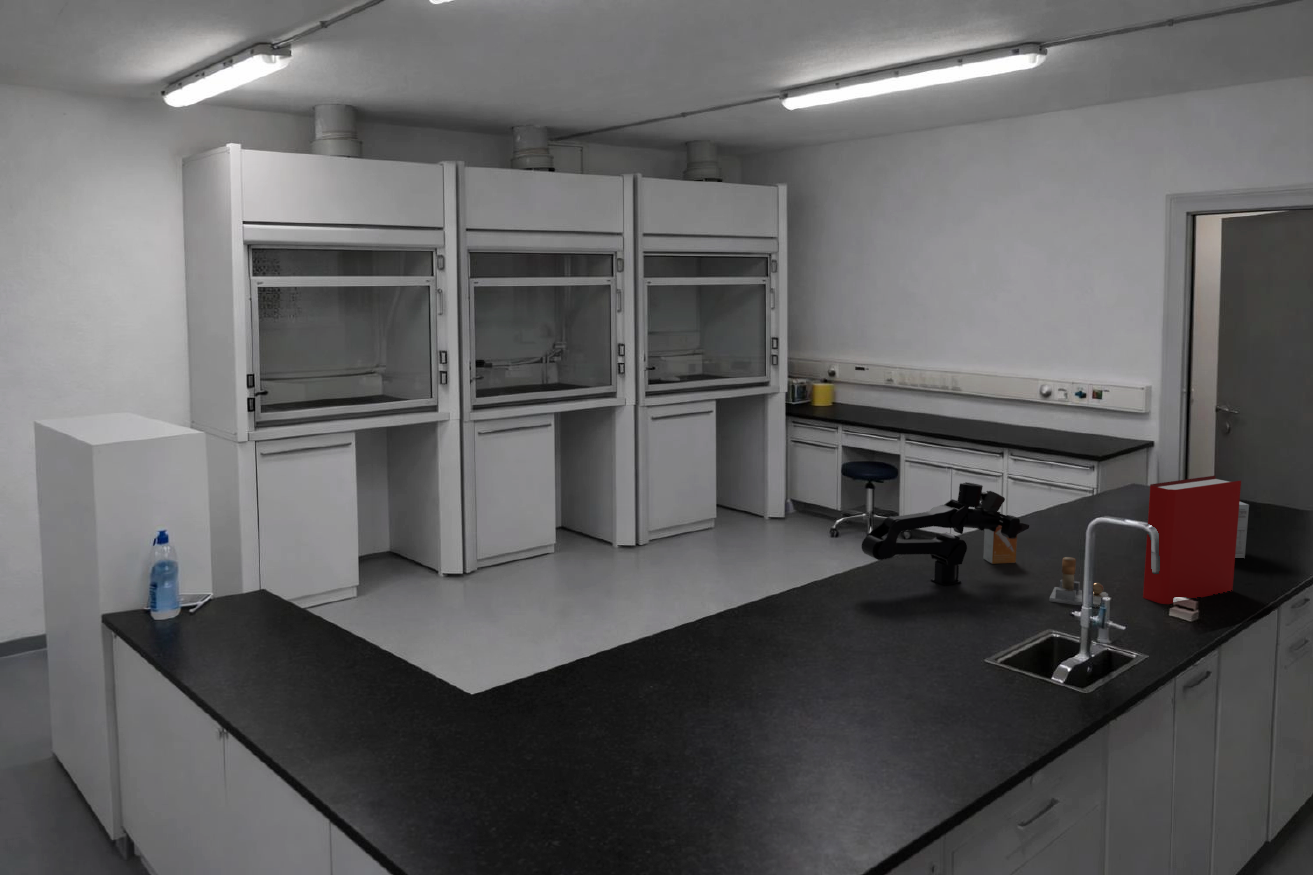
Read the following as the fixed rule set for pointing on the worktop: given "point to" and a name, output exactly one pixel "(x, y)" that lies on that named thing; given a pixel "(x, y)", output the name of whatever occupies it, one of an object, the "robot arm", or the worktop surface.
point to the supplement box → (1242, 530)
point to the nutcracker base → (1076, 594)
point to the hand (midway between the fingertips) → (1019, 522)
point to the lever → (1068, 572)
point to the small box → (999, 547)
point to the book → (1192, 538)
